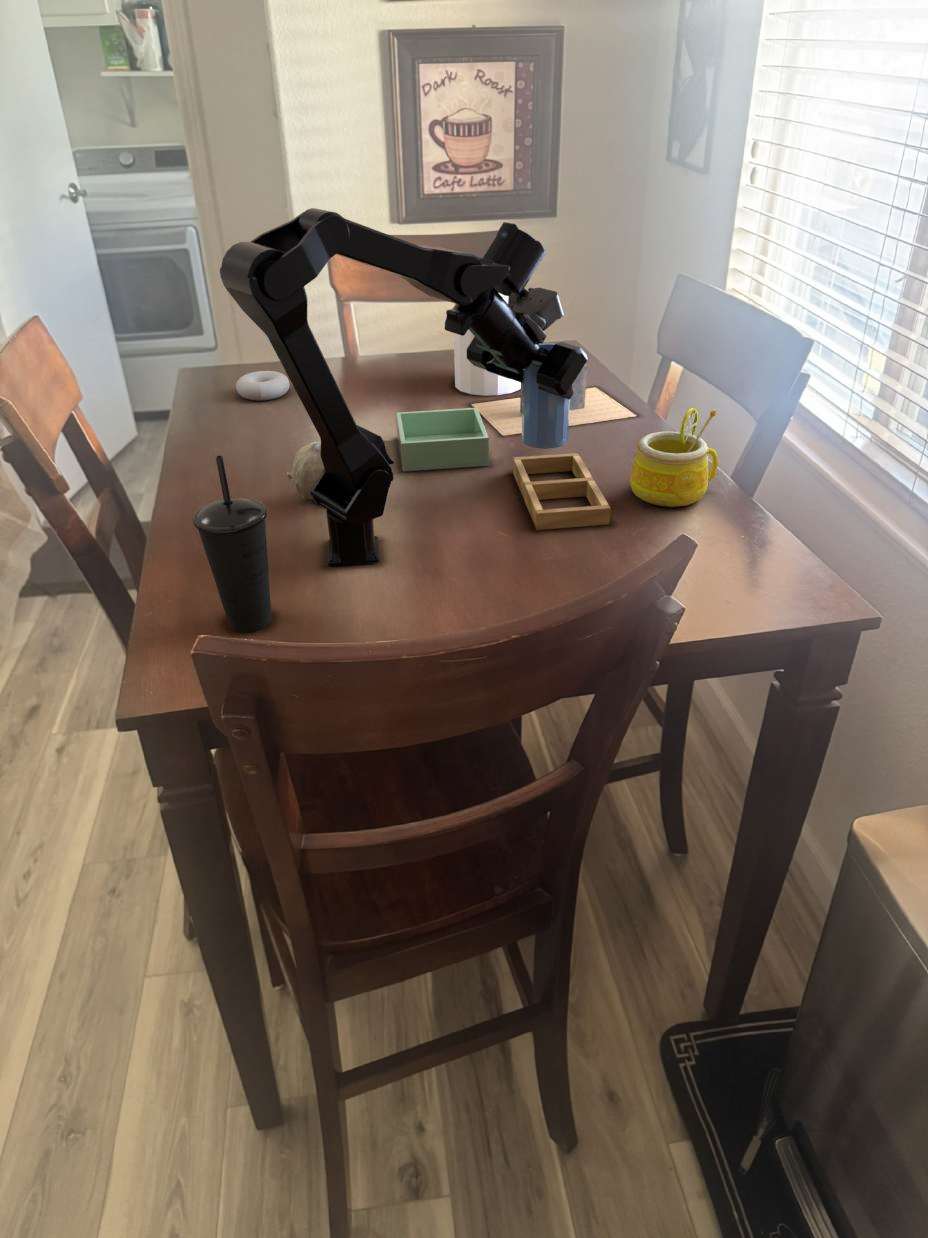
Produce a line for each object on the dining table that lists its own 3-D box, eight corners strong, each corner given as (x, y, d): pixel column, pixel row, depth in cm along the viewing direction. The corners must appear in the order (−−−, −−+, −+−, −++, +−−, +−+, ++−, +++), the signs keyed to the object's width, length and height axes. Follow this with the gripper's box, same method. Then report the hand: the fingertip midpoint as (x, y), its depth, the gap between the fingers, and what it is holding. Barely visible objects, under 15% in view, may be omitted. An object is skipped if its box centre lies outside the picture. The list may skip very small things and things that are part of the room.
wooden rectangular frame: (609, 524, 116) (610, 507, 114) (536, 530, 115) (537, 513, 114) (576, 468, 132) (577, 452, 130) (512, 472, 131) (512, 457, 129)
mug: (649, 517, 117) (659, 434, 111) (617, 485, 126) (623, 406, 119) (733, 504, 120) (747, 422, 113) (695, 474, 129) (706, 396, 122)
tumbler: (572, 446, 122) (578, 355, 115) (527, 450, 121) (530, 358, 114) (560, 430, 128) (564, 341, 121) (517, 433, 127) (519, 344, 120)
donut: (283, 383, 169) (232, 390, 165) (281, 365, 167) (229, 372, 163) (296, 398, 161) (243, 406, 157) (294, 380, 159) (241, 387, 156)
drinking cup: (255, 595, 102) (226, 436, 91) (297, 617, 98) (272, 453, 87) (202, 624, 98) (164, 459, 86) (244, 647, 93) (211, 478, 82)
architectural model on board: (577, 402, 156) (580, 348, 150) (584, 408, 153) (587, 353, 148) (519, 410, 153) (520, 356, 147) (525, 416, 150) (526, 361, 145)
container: (536, 379, 167) (539, 270, 156) (502, 400, 157) (502, 286, 146) (477, 369, 173) (476, 264, 162) (441, 388, 164) (437, 278, 152)
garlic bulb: (356, 507, 127) (375, 446, 122) (329, 523, 120) (348, 459, 115) (302, 480, 129) (318, 419, 124) (272, 494, 121) (288, 430, 116)
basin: (489, 465, 133) (488, 437, 130) (402, 471, 132) (401, 443, 129) (477, 433, 144) (477, 407, 141) (397, 439, 143) (396, 412, 140)
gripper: (581, 282, 103) (634, 356, 115) (481, 260, 115) (538, 328, 127) (532, 361, 104) (589, 426, 115) (437, 330, 116) (498, 392, 128)
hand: (553, 389), depth 121 cm, fingers closed on tumbler, 7 cm apart
